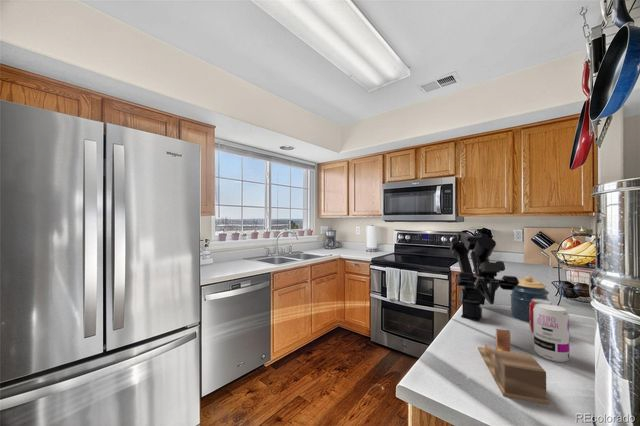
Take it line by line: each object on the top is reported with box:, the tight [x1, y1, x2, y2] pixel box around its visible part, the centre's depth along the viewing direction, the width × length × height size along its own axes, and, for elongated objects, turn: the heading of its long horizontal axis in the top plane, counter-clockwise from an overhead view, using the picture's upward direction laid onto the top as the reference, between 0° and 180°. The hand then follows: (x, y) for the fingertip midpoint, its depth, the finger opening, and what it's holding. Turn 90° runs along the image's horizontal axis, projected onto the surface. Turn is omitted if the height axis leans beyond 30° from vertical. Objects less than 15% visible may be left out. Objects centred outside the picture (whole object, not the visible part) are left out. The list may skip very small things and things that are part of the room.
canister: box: [510, 275, 550, 322], centre depth 111 cm, size 13×13×18 cm
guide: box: [477, 344, 550, 405], centre depth 71 cm, size 23×9×7 cm, turn 161°
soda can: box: [529, 299, 553, 333], centre depth 95 cm, size 7×7×12 cm
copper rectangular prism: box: [495, 328, 511, 352], centre depth 69 cm, size 13×3×9 cm, turn 161°
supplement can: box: [533, 303, 570, 363], centre depth 80 cm, size 8×8×15 cm
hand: (492, 303), depth 88 cm, fingers closed
